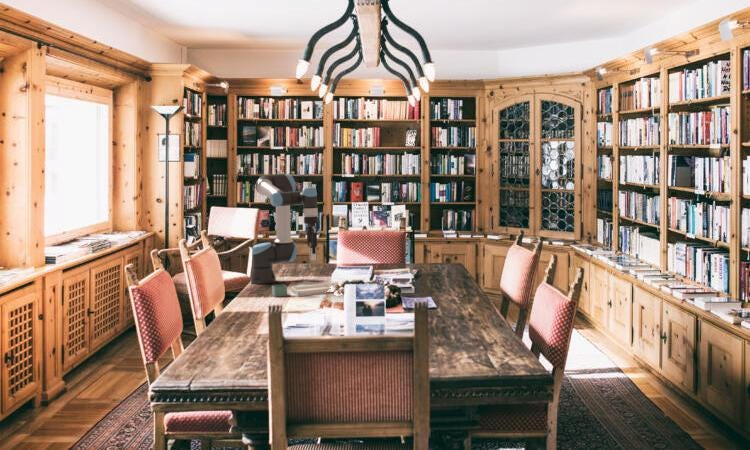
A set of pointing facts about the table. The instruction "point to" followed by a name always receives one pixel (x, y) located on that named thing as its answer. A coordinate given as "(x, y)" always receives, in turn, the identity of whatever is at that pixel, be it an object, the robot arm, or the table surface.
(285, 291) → the pen cup
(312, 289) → the tray
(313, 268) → the dowel
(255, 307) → the table surface
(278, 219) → the robot arm
